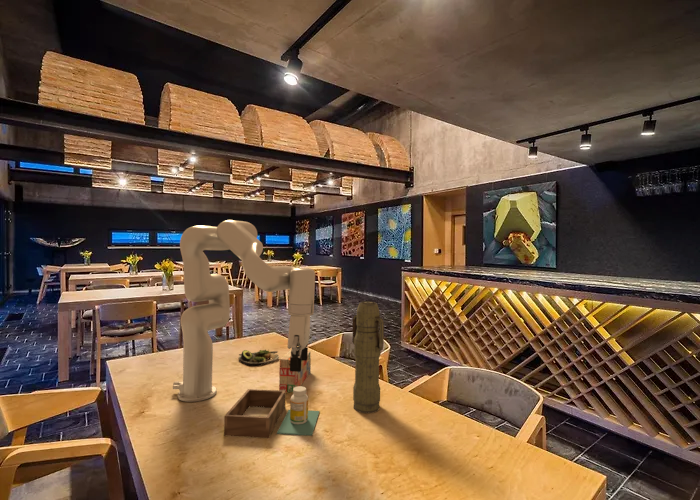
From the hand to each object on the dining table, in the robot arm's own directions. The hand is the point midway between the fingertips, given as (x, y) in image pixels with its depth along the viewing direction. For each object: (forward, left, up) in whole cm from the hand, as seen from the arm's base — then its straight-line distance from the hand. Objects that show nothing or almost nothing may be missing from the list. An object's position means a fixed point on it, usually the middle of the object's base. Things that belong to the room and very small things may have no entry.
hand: (298, 365), depth 103 cm
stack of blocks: (-7, +31, -18) cm, 37 cm away
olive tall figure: (+21, +12, -17) cm, 29 cm away
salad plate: (-31, +56, -18) cm, 67 cm away
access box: (-12, 0, -17) cm, 21 cm away
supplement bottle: (0, 0, -17) cm, 17 cm away
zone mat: (+1, 0, -17) cm, 17 cm away
